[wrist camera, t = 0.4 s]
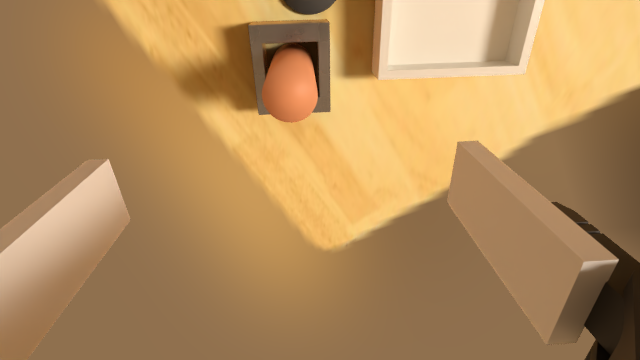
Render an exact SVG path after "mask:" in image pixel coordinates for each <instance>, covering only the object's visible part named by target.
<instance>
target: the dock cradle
mask: <svg viewBox="0 0 640 360" xmlns="http://www.w3.org/2000/svg"><path fill="white" fill-rule="evenodd" d="M544 1H545V0H375V17H374V37H373V58H372V73H373V74H374V75H375V76H376V78H377V79H378V80H386V79H412V78H438V77H464V76H490V75H516V74H525V72H526V68H527V64H528V61H529V57H530V53H531V49H532V46H533V42H534V38H535V34H536V31H537V27H538V23H539V19H540V16H541V12H542V8H543V4H544Z"/></svg>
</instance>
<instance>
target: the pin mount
mask: <svg viewBox="0 0 640 360" xmlns="http://www.w3.org/2000/svg"><path fill="white" fill-rule="evenodd" d="M248 29H249V37H250V46H251V54H252V62H253V71H254V79H255V88H256V96H257V105H258V113H259V115H265V114H270V113H269V112H268V111H267V109H266V108H265V106H264V103H263V100H262V88H263V85H264V82H265V79H266V76H267V73H268V67H267V57H266V47H265V43H285V42H314V41H317V61H318V89H317V91H318V99H317V104H316V106H315V108H314V110H313V112H330V31H329V21H328V20H327V19H322V20H292V21H261V22H251V23H250V24H249V25H248ZM313 112H312V113H313Z"/></svg>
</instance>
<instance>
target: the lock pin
mask: <svg viewBox="0 0 640 360" xmlns="http://www.w3.org/2000/svg"><path fill="white" fill-rule="evenodd" d="M317 99H318V91H317V86H316V80H315V74H314V68H313V62H312V58H311V55H310V54H309V52H308V51H307V50H306V49H305V48H304V47H303V46H301V45H299V44H295V43H289V44H285V45H283V46H281V47H280V48H279V49H278V50H277V51H276V52H275V54H274V56H273V59H272V62H271V65H270V68H269V71H268V73H267V76H266V79H265V82H264V85H263V88H262V100H263V103H264V106H265V108H266V109H267V111H268V112H269V113H270V114H271V115H272V116H273V117H275V118H276V119H278V120H281V121H284V122H297V121H300V120H303V119H305V118H306V117H308V116H309V115H310V114H311V113H312V112H313V110H314V108H315V106H316V104H317Z"/></svg>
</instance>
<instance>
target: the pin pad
mask: <svg viewBox="0 0 640 360" xmlns="http://www.w3.org/2000/svg"><path fill="white" fill-rule="evenodd" d="M284 1H285V2H286V3H287V5H289V6H290V7H291V8H292V9H294V10H296V11H298V12H300V13H303V14H317V13H320V12H322V11H324V10H326V9H328V8H329V7H330V6H331V5H332V4H333V3H334V2H335V1H336V0H284Z"/></svg>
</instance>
